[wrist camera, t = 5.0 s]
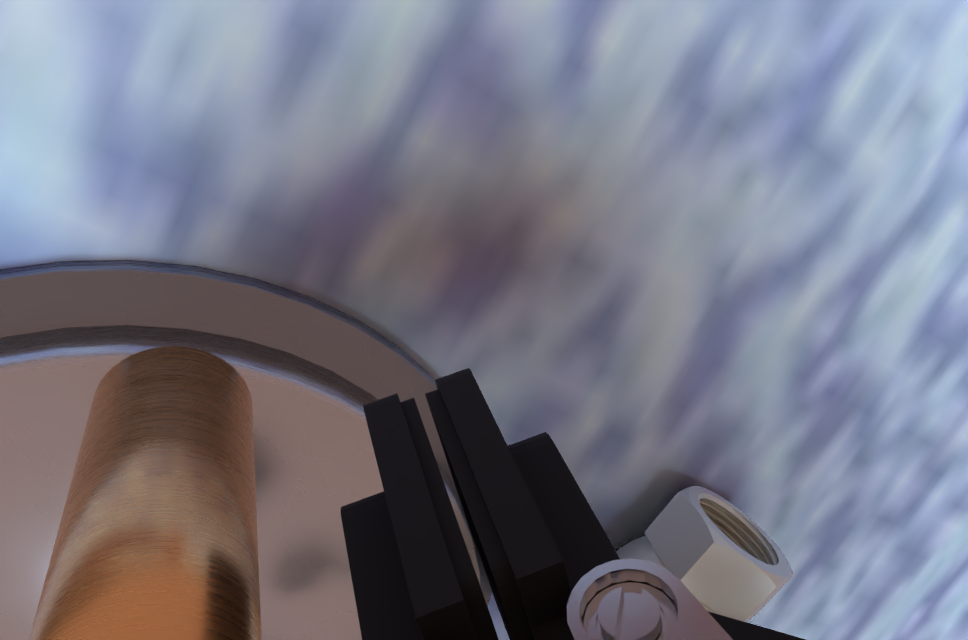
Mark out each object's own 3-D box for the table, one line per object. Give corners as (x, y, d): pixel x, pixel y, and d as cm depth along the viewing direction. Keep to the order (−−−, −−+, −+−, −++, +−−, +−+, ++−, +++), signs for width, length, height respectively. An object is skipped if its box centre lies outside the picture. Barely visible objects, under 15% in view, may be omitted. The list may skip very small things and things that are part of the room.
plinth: (619, 512, 23) (626, 524, 22) (212, 875, 26) (211, 891, 25) (14, 60, 13) (7, 66, 13) (-519, 712, 16) (-540, 734, 16)
